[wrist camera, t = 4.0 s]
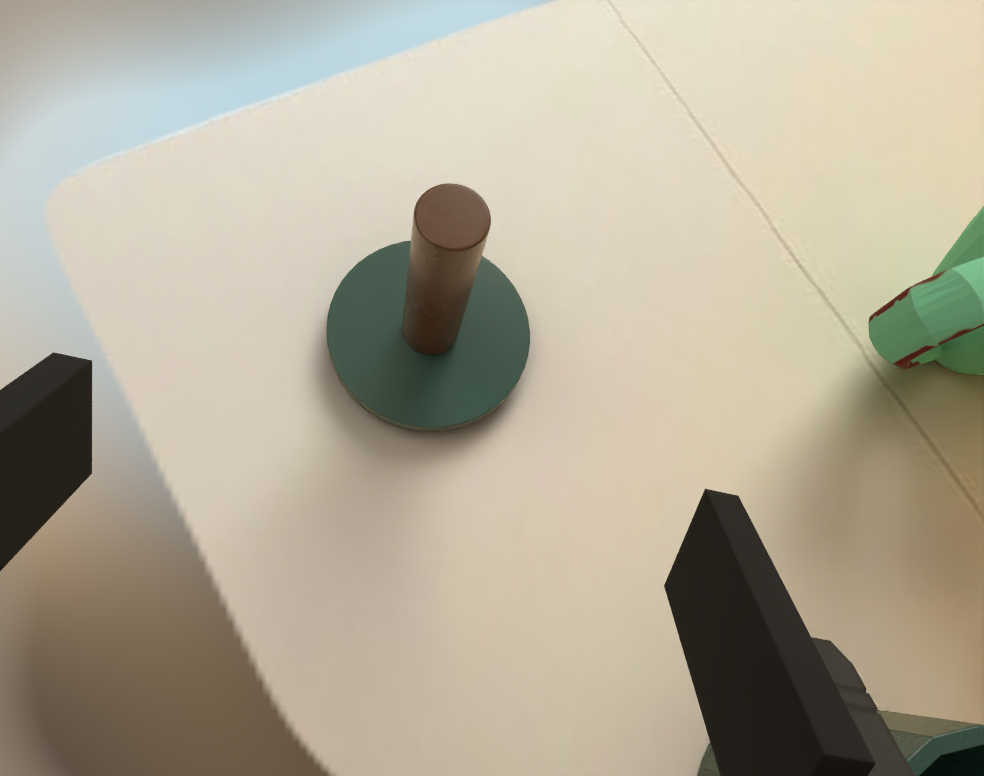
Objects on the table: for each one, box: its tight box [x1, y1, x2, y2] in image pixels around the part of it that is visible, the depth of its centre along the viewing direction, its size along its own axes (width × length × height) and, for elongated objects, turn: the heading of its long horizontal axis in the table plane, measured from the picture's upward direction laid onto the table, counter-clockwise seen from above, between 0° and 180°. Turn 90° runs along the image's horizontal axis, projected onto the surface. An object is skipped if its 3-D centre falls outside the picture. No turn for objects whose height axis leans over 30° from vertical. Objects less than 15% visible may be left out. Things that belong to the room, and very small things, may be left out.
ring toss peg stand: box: [327, 184, 530, 431], centre depth 28 cm, size 9×9×10 cm
